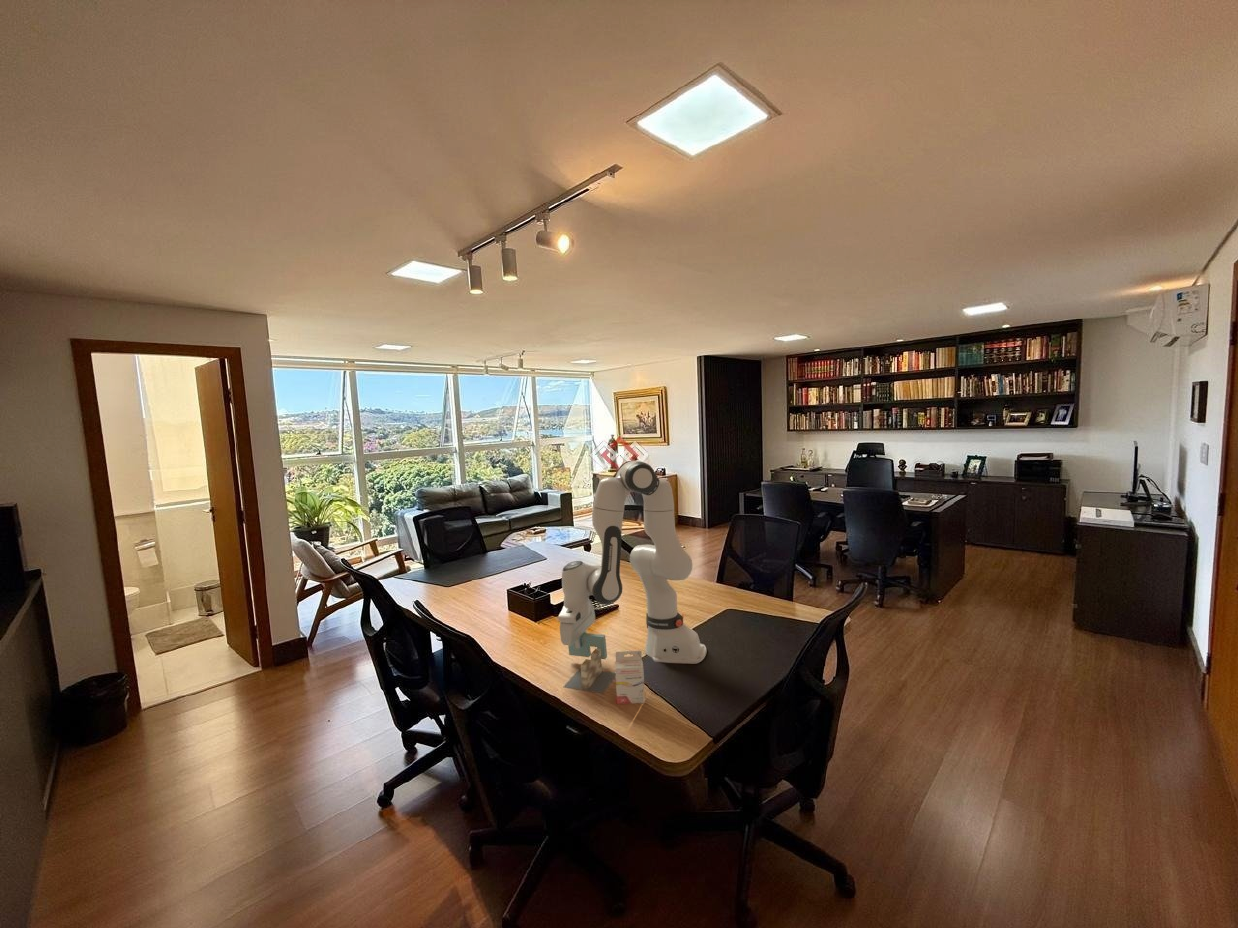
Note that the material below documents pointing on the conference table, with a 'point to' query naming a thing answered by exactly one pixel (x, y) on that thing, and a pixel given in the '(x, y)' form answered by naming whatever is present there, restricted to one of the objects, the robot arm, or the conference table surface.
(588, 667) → the stone wall model
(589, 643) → the teal plate
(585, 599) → the robot arm
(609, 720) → the conference table surface
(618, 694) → the ink cartridge box
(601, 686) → the felt mat
